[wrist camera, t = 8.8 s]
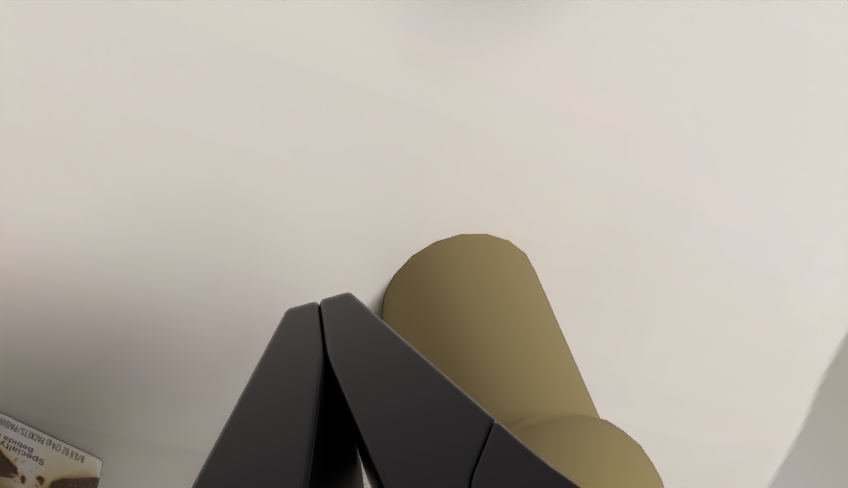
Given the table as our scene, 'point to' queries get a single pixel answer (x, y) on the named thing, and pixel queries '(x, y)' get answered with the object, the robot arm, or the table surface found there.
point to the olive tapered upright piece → (510, 355)
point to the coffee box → (42, 460)
